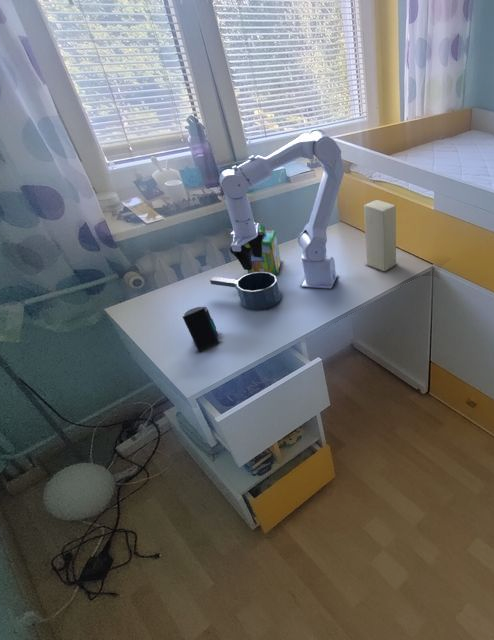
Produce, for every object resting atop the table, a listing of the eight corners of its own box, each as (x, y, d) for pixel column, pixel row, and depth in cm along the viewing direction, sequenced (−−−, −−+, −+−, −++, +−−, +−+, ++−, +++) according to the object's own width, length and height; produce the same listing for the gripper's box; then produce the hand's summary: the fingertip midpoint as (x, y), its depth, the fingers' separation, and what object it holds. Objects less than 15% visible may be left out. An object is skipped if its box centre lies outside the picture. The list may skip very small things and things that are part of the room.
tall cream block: (398, 263, 148) (397, 204, 135) (385, 272, 143) (383, 211, 130) (380, 257, 151) (377, 198, 138) (366, 265, 146) (362, 205, 133)
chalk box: (248, 275, 138) (236, 232, 128) (254, 262, 145) (243, 220, 135) (278, 275, 139) (268, 232, 129) (282, 261, 146) (273, 220, 136)
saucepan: (286, 292, 131) (283, 274, 127) (269, 312, 123) (265, 293, 119) (226, 284, 133) (221, 266, 129) (206, 302, 125) (199, 284, 121)
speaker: (222, 345, 110) (208, 310, 104) (198, 352, 108) (182, 318, 102) (218, 331, 116) (204, 298, 110) (195, 338, 114) (180, 304, 107)
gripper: (238, 206, 120) (249, 250, 129) (214, 228, 109) (229, 274, 118) (262, 208, 120) (272, 252, 129) (242, 229, 109) (254, 276, 118)
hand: (253, 262), depth 124 cm, fingers open, 7 cm apart
